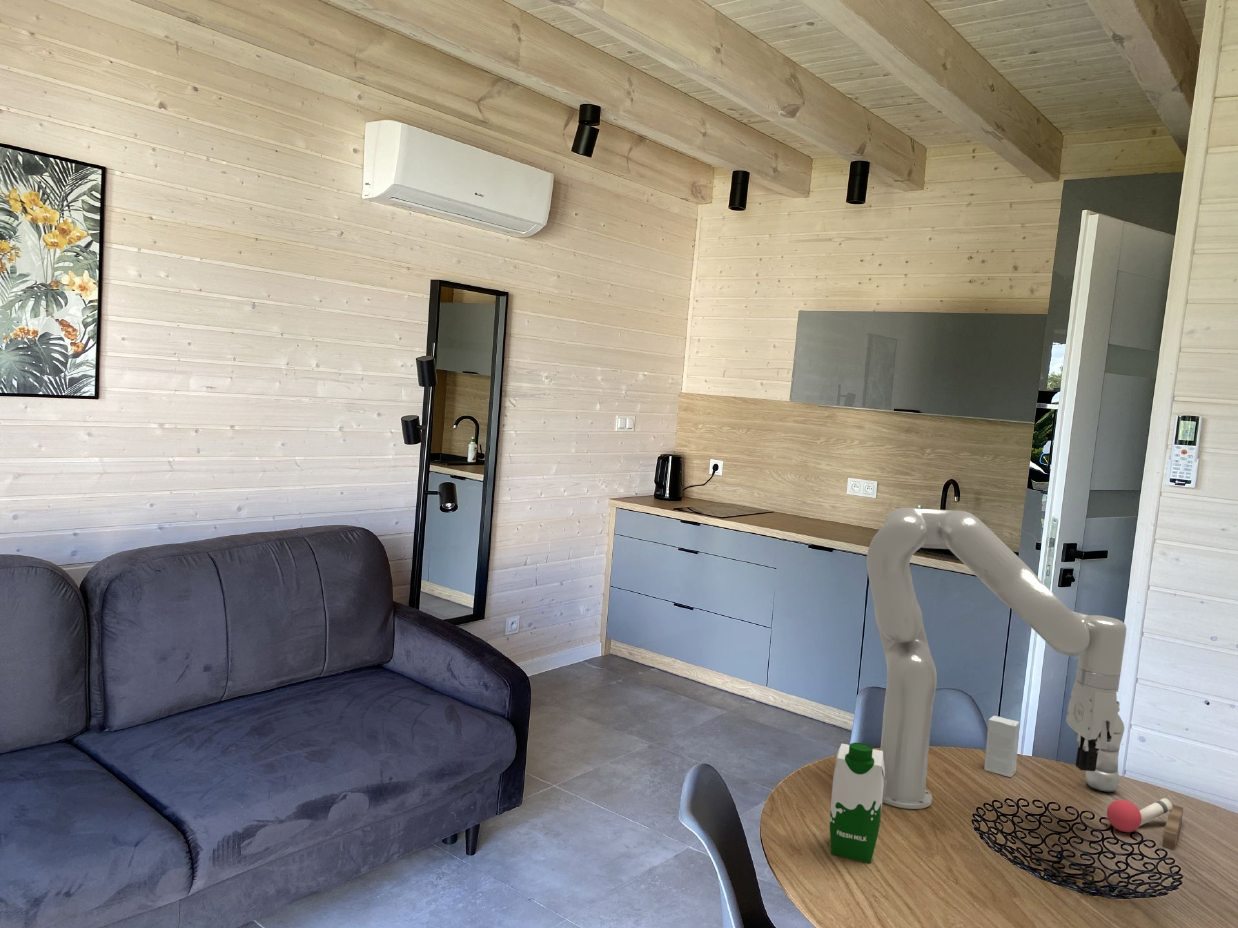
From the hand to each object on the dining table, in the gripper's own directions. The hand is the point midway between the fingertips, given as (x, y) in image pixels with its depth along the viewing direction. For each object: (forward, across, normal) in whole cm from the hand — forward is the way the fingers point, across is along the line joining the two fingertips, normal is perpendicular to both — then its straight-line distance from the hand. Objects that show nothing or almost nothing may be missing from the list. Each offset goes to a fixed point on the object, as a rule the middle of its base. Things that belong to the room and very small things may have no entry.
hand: (1085, 768), depth 177 cm
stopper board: (+11, 0, +19) cm, 22 cm away
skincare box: (+12, -26, -5) cm, 29 cm away
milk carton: (+13, +17, -49) cm, 54 cm away
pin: (+10, -2, +12) cm, 16 cm away
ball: (+9, 0, +9) cm, 12 cm away
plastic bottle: (+12, -20, +15) cm, 27 cm away
